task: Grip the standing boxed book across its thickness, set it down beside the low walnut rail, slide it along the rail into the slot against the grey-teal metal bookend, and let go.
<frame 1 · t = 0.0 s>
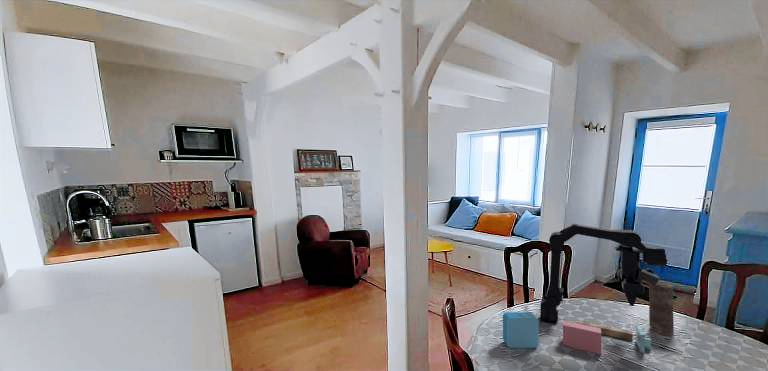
hand: (629, 301, 118), 15 cm above the table, tool pointing down, fingers open, 9 cm apart
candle: (660, 331, 122), on the table
data package: (520, 345, 115), on the table
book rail: (603, 333, 122), on the table
boxed book: (581, 347, 113), on the table
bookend: (639, 347, 111), on the table
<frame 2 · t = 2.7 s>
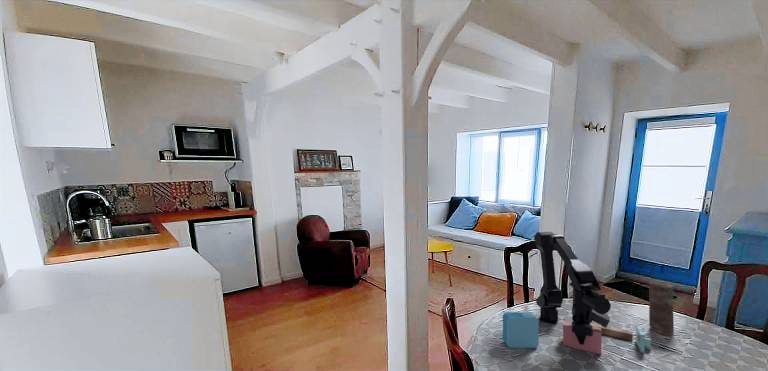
hand: (581, 341, 113), 2 cm above the table, tool pointing down, fingers closed on boxed book, 4 cm apart
boxed book: (581, 346, 113), on the table, touching gripper
everything else where it was.
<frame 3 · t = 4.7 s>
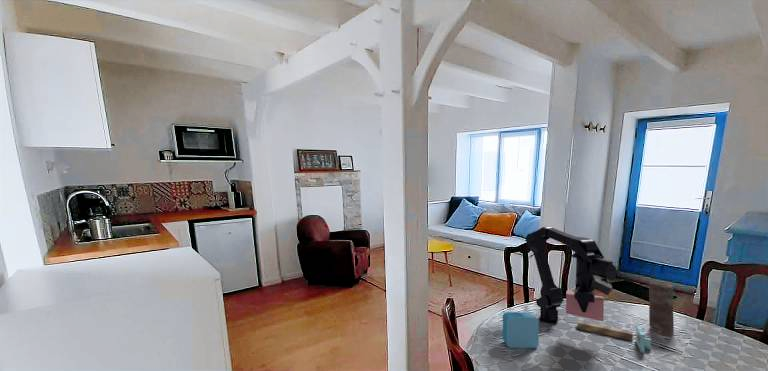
hand: (584, 310, 116), 12 cm above the table, tool pointing down, fingers closed on boxed book, 4 cm apart
boxed book: (584, 315, 116), point 10 cm above the table, touching gripper
everything else where it was.
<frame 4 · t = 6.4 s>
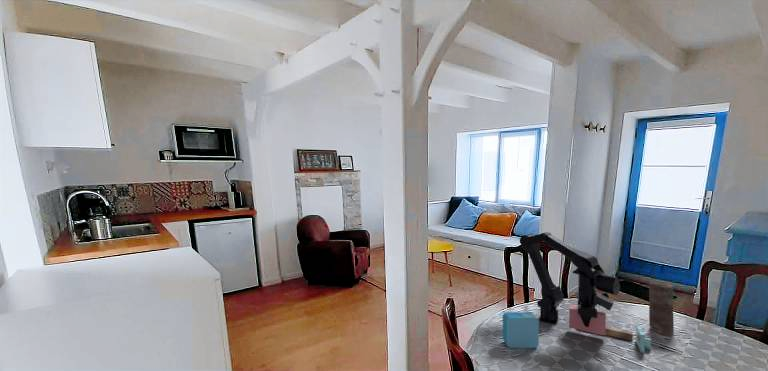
hand: (586, 324, 120), 5 cm above the table, tool pointing down, fingers closed on boxed book, 4 cm apart
boxed book: (586, 329, 120), point 3 cm above the table, touching gripper
everything else where it was.
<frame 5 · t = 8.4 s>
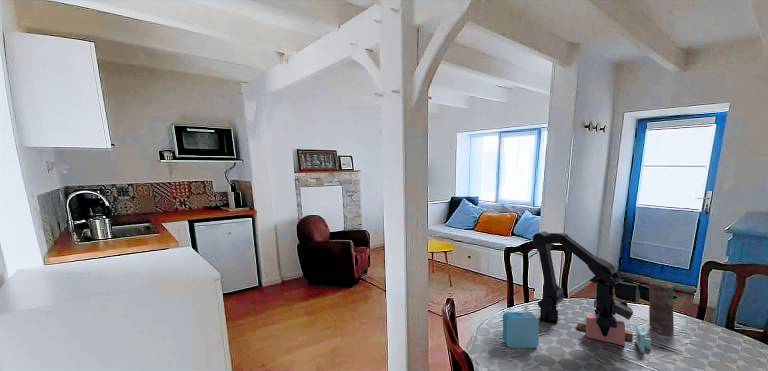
hand: (604, 333, 117), 2 cm above the table, tool pointing down, fingers closed on boxed book, 4 cm apart
boxed book: (604, 338, 117), on the table, touching gripper
everything else where it was.
when the fingers open (2 cm above the table, at t = 10.1 s): boxed book stays where it is, on the table.
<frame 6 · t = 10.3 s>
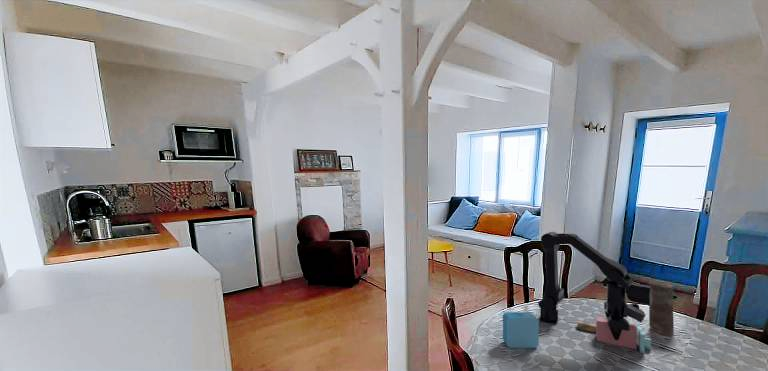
hand: (615, 336, 115), 2 cm above the table, tool pointing down, fingers open, 5 cm apart
boxed book: (615, 342, 115), on the table
everything else where it was.
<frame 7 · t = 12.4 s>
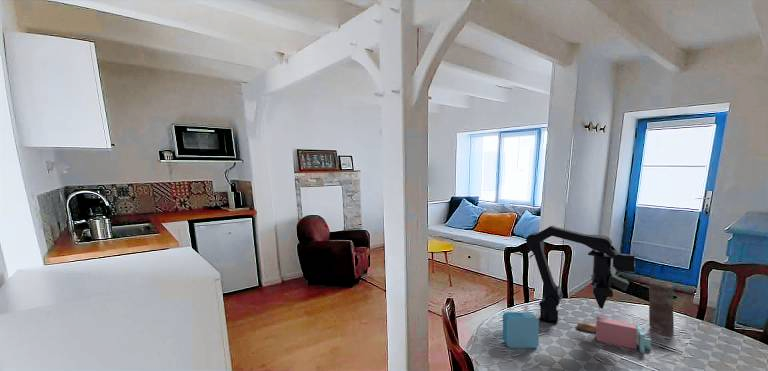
hand: (600, 305, 120), 12 cm above the table, tool pointing down, fingers open, 6 cm apart
nothing on the table moved.
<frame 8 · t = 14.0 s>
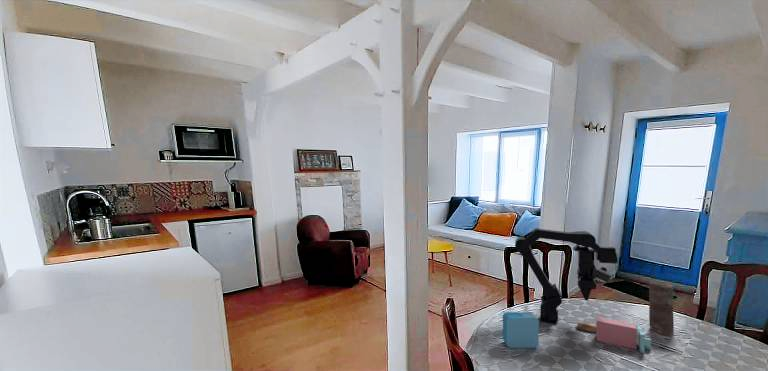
hand: (586, 297, 127), 13 cm above the table, tool pointing down, fingers open, 6 cm apart
nothing on the table moved.
at the end: boxed book 0.3 cm from the target spot, on the table; boxed book tilted 0°; the gripper is holding nothing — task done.
